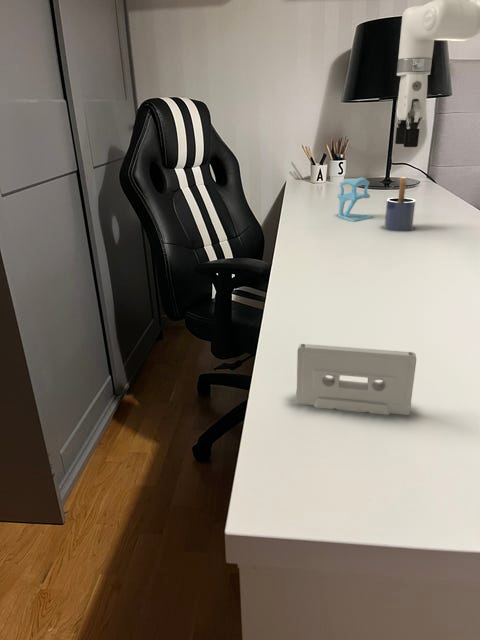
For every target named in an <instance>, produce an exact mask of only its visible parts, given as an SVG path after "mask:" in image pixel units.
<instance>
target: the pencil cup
mask: <svg viewBox="0 0 480 640" xmlns="http://www.w3.org/2000/svg"><path fill="white" fill-rule="evenodd" d="M398 198H399V197H390V198H387V199H386V203H385V214H384V226H383V228H384V229H385V230H387V231H391V232H392V231H393V232H409V231H412V230H413V228H414V219H415V210H416V199H414V198H409V197H404V202H398Z"/></svg>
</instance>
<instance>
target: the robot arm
mask: <svg viewBox="0 0 480 640" xmlns="http://www.w3.org/2000/svg"><path fill="white" fill-rule="evenodd" d="M479 34H480V0H468V1H467V0H432V1H429V2H427V3H424V4H423V5H414V6H410V7H408V8H406V9H405V10H404V11H403V13H402V17H401V25H400V36H399V37H400V38H399V48H398V59H397V68H396V76H397V77H400V81H399V87H398V96H397V103H396V105H397V106H396V118H397V122H396V129H395V131H396V132H395V137H394V139H395V140H394V144H395V145H403V147H404V148H417V147H418V146H419V137H420V128H421V121H423V120H424V119H425V118H426V111H427V98H428V81H429V80H428V76H429V75H431V72H432V71H431V69H432V62H433V54H434V48H435V47H434V46H435V41H453V42H465V41H468V40H470V39H473V38H474V37H476V36H478V35H479Z"/></svg>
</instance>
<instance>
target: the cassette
mask: <svg viewBox="0 0 480 640" xmlns="http://www.w3.org/2000/svg"><path fill="white" fill-rule="evenodd" d="M296 356H297V357H296V359H297V360H296V363H297V364H296V391H295V404H297V405H307V406H314V408H318V409H327V410H334V409H336V410H339V411H346V412H357V413H369V414H375V415H376V414H380V415H385V416H387V415H388V416H389V415H390V414H393V415H402V416H403V415H404V416H410V414H411V407H412V398H413V396H412V395H413V390H414V382H415V374H416V367H417V356H416V353H415V352H413V351H402V350H388V349H376V348H375V349H374V348H364V347H363V348H361V347H349V346H337V345H325V344H323V345H321V344H311V343H299V345H298V346H297V355H296ZM327 376H330V377H327ZM341 376H346V377H355V378H367V382H364V381H355V380H354V381H353V380H343V379H342V380H341ZM377 381H379V382H377ZM380 381H381V382H380Z"/></svg>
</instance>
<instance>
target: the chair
mask: <svg viewBox="0 0 480 640" xmlns="http://www.w3.org/2000/svg"><path fill="white" fill-rule="evenodd" d="M345 185H349V186H351V191H349V192H347V193H345V189H344V186H345ZM360 186H365V187H364V189H363V193H359V192H357V188H358V187H360ZM369 186H370V181H369V180H368V179H366V178H365V177H358V178H356V179H351V178H348V179H346V180H344V181H342V182H339V187H340V193H339V194H337V198H338V201H339V208H338V215H337V216H338V217H339V218H341V219H345V220H347V221H350V222H359V221H363V220H369V219H372V216H371V215H364V214H354V213H350V212H351V211H352V209H353V207H354V205H355V204H356V203H357V201H358V200H362V199H370V198H371V194H370V193H368V189H369ZM348 201H350V203H349V204H348V206H347V209H346V210H345V212H344V208H345V203H346V202H348ZM351 217H355V218H351Z"/></svg>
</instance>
